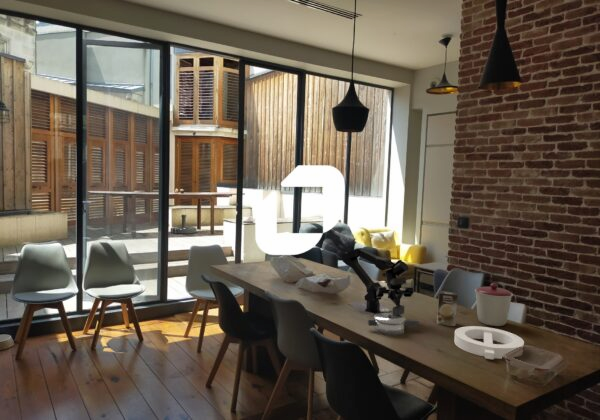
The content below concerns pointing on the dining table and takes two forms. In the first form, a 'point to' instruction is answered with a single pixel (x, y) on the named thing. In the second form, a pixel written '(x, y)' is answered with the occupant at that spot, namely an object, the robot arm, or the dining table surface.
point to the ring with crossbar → (486, 341)
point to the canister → (493, 305)
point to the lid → (391, 316)
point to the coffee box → (447, 308)
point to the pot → (391, 327)
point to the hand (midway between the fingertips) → (398, 306)
